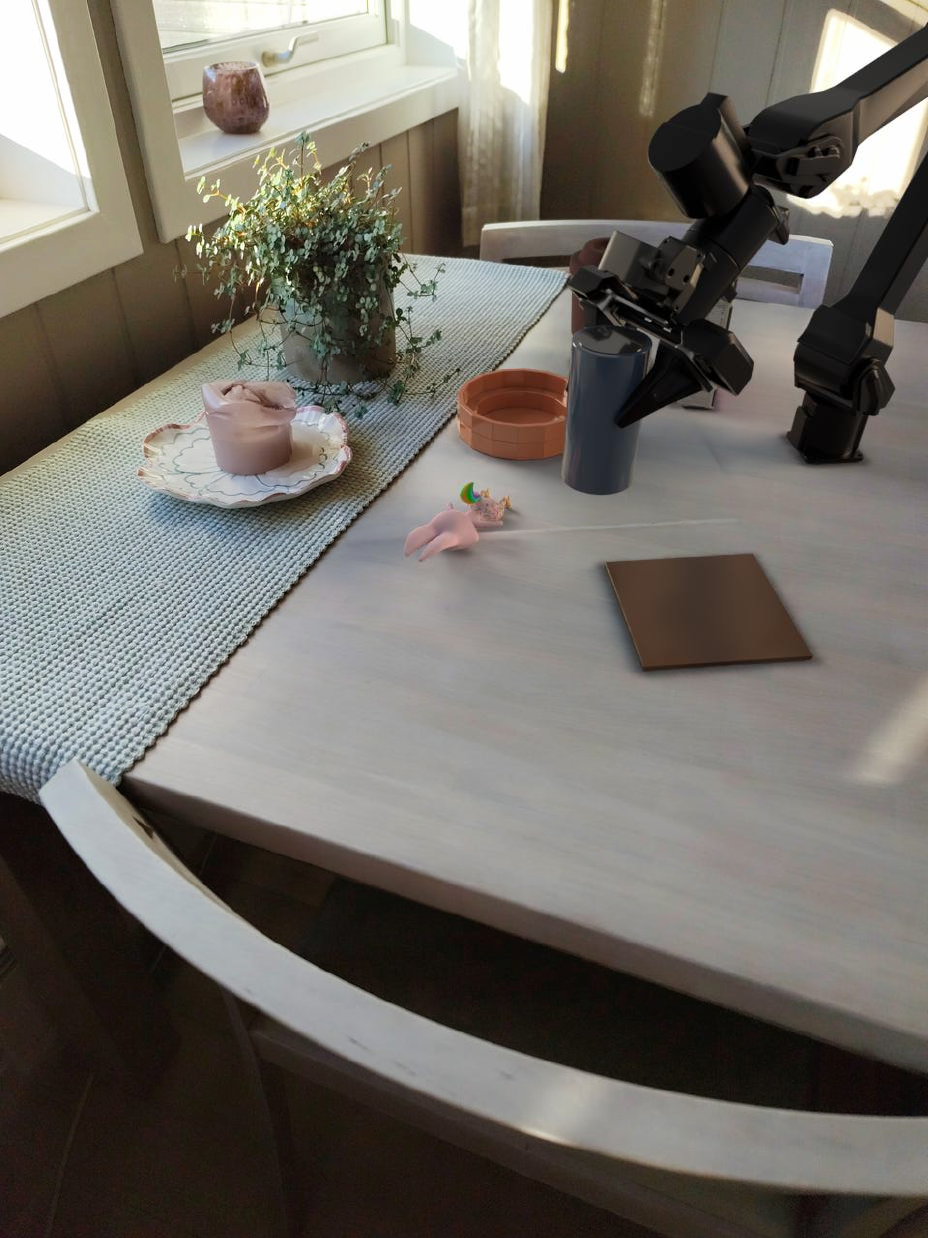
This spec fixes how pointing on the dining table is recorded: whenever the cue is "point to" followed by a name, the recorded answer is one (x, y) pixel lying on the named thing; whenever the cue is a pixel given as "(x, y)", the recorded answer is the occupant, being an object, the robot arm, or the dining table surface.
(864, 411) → the robot arm
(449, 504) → the rabbit figure
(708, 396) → the candy bar box
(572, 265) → the coffee cup
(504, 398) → the bowl
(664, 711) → the dining table surface
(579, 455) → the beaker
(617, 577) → the board
